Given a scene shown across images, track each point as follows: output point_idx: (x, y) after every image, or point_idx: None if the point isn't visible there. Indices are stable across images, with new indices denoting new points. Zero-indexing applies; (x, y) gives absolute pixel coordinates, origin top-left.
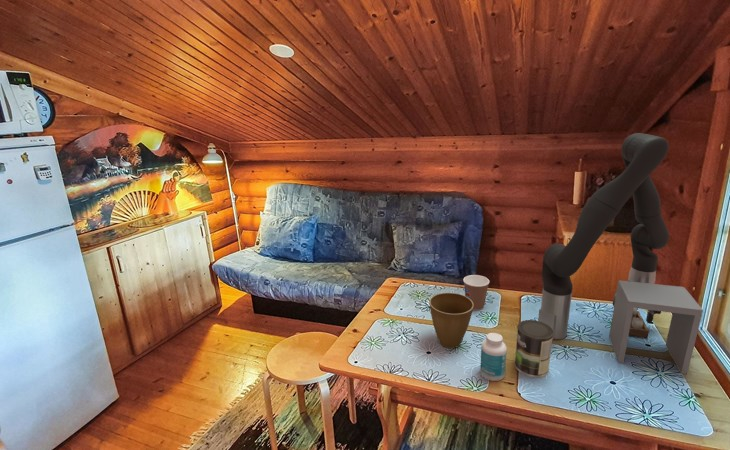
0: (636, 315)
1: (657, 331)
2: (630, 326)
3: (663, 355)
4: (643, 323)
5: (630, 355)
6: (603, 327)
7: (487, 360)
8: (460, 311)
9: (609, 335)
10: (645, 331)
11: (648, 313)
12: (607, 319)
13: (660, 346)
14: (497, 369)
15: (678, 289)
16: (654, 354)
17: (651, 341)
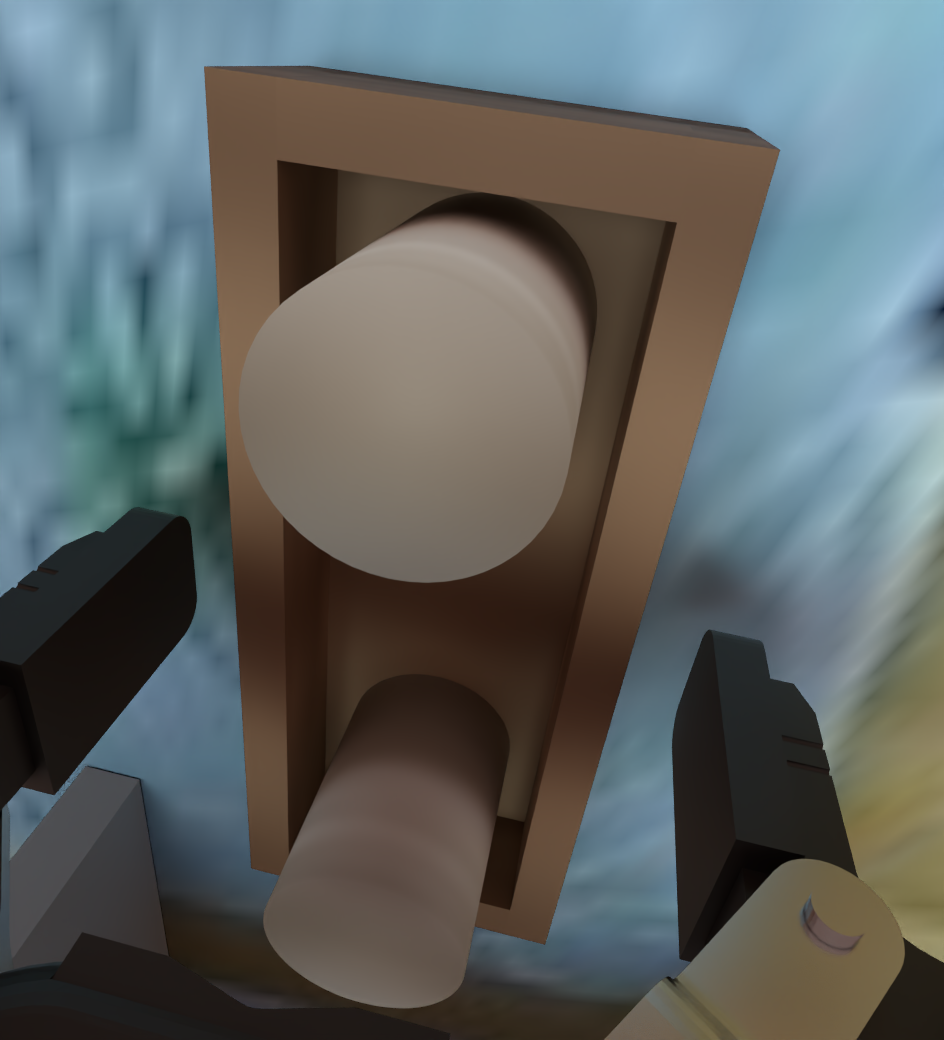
0: (668, 228)
1: (861, 651)
2: (380, 629)
3: (582, 1036)
4: (565, 758)
5: (261, 1003)
6: (13, 574)
7: None
8: None
9: (72, 792)
10: (494, 918)
11: (704, 892)
12: (61, 301)
13: (643, 937)
14: None
15: None
16: (495, 1017)
17: (583, 859)
